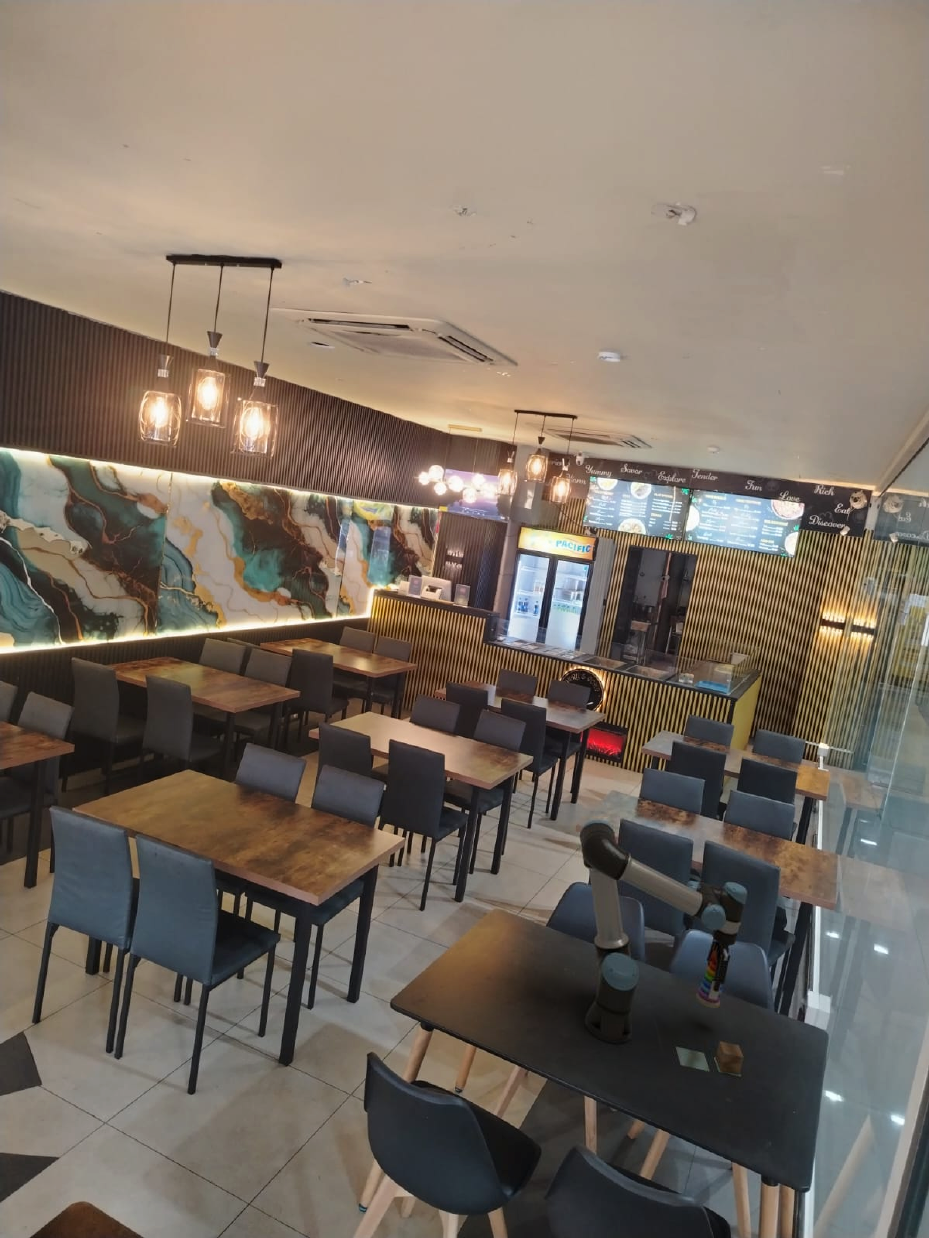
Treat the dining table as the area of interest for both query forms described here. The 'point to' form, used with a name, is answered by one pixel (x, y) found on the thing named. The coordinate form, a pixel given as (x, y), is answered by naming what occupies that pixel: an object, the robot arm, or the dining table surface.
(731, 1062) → the walnut cube
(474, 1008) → the dining table surface
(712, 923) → the robot arm
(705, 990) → the stacking toy
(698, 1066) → the paired pale square pads
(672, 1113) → the dining table surface
